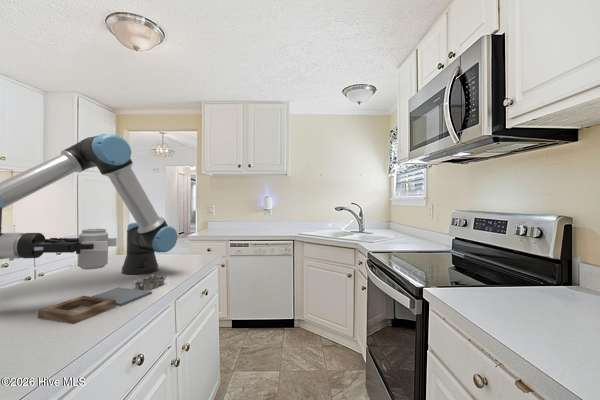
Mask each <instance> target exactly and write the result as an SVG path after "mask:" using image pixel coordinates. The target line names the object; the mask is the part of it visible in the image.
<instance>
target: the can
mask: <svg viewBox="0 0 600 400" xmlns="http://www.w3.org/2000/svg"><path fill="white" fill-rule="evenodd" d="M78 238H79V243H81V244H82V242H98V241H108V238H109V233H108V232H107V228H85V229H81V233H80V234H79V235H78ZM77 258H78V259H77V260H78V261H77V262H78V268H80V269H81V270H85V271H86V270H98V269H102V268H104V267H106V265H108V263H109V246H108V245H107V251H81V250H80V254H78V257H77Z"/></svg>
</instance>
